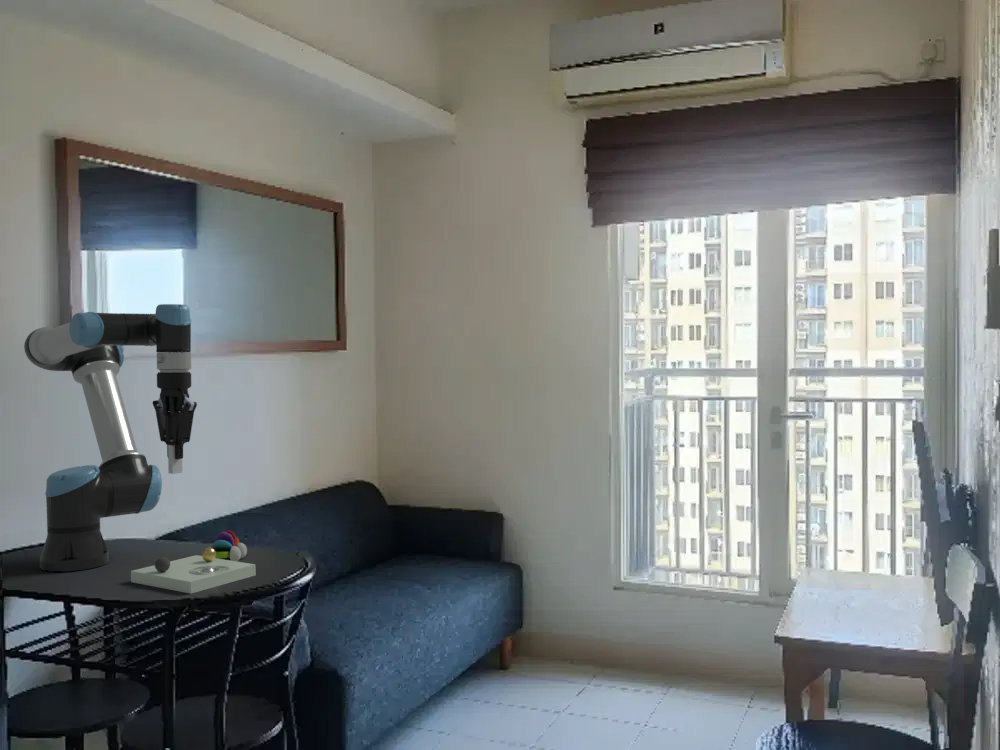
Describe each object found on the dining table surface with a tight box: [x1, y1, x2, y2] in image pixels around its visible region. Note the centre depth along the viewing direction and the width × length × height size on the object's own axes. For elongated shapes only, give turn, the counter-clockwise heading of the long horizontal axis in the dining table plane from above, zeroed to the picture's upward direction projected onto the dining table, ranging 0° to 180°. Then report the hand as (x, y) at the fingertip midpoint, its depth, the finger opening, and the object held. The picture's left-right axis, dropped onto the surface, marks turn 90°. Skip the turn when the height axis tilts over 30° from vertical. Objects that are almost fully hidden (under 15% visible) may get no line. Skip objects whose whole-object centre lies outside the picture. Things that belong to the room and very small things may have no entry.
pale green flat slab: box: [130, 554, 257, 594], centre depth 206 cm, size 20×18×2 cm
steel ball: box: [201, 567, 215, 573], centre depth 203 cm, size 3×3×3 cm
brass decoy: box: [201, 546, 216, 562], centre depth 212 cm, size 3×3×3 cm
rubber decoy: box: [154, 556, 170, 572], centre depth 202 cm, size 3×3×3 cm
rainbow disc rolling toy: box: [209, 530, 248, 562], centre depth 224 cm, size 8×10×7 cm
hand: (175, 472), depth 212 cm, fingers closed
